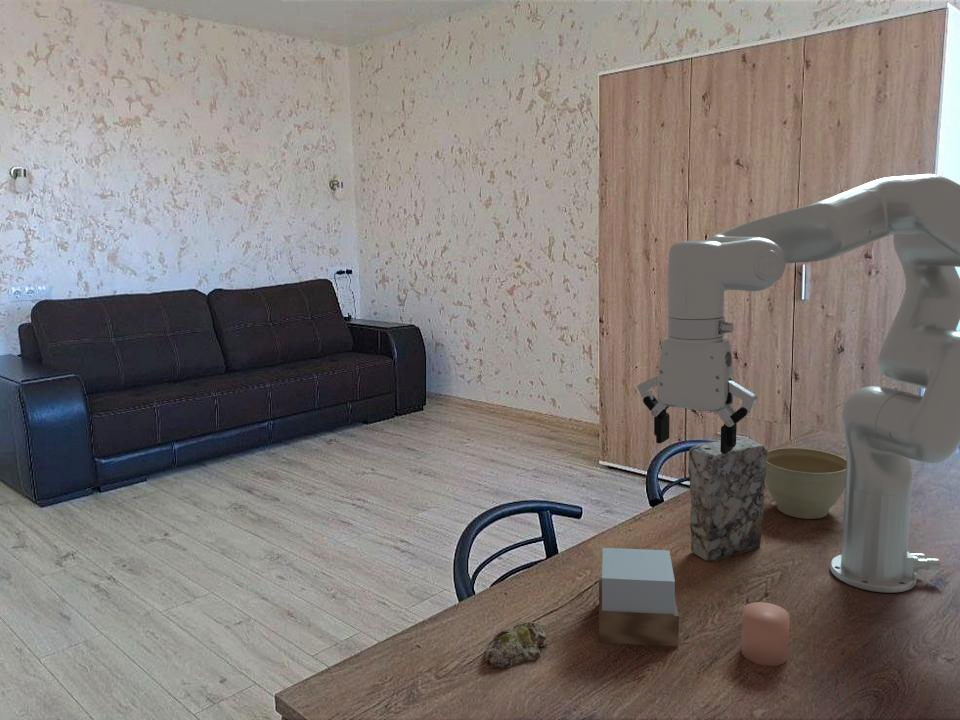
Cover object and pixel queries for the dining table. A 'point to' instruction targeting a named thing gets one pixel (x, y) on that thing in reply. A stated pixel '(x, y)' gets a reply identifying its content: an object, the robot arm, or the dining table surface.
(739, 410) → the robot arm
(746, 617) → the dusty-pink cylinder
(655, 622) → the walnut base block
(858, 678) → the dining table surface
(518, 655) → the mineral rock
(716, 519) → the stone block
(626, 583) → the slate cap block
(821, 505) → the planter bowl
